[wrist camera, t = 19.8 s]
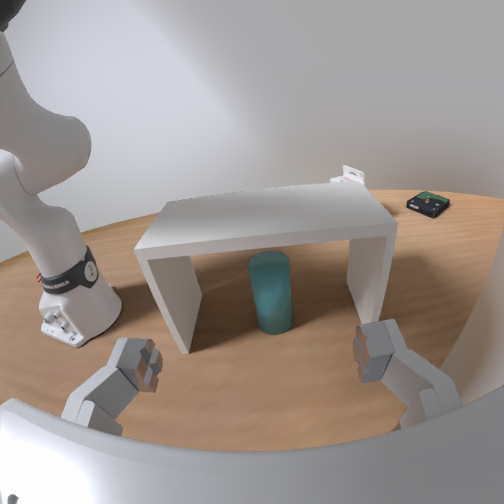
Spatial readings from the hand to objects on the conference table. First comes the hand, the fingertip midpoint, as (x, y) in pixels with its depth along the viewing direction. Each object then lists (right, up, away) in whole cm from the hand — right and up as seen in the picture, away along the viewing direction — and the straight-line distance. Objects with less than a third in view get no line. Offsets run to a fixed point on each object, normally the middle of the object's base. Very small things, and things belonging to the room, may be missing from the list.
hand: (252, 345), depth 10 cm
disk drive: (+55, +17, +61) cm, 84 cm away
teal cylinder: (+4, -8, +34) cm, 35 cm away
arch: (+4, -7, +34) cm, 35 cm away
